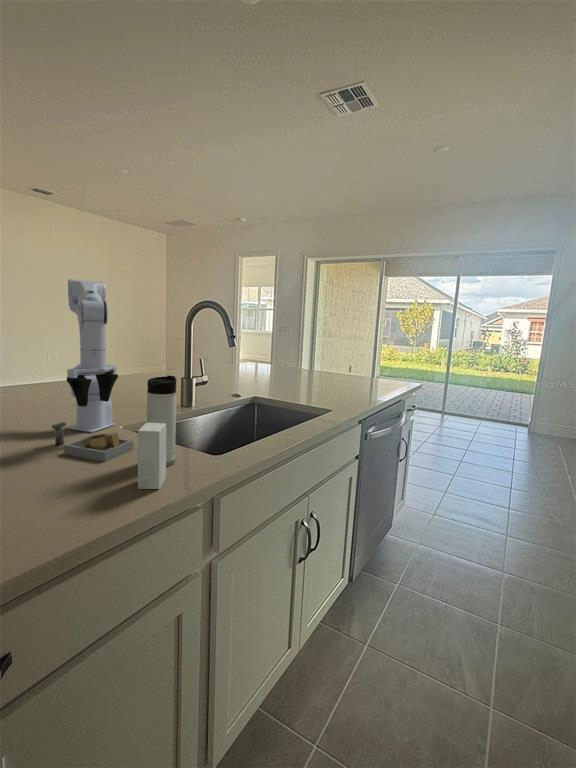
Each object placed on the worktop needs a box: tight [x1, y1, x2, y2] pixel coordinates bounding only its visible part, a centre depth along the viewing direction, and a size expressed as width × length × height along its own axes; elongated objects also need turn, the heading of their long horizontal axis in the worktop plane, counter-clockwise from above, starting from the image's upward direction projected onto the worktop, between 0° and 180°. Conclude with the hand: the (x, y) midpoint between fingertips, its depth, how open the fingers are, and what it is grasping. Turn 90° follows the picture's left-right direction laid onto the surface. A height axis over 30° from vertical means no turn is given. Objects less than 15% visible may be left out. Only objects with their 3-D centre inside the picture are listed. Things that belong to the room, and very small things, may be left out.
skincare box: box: [137, 422, 167, 490], centre depth 79 cm, size 6×4×12 cm
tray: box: [63, 433, 134, 463], centre depth 95 cm, size 10×11×2 cm
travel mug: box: [146, 375, 177, 467], centre depth 90 cm, size 6×7×20 cm
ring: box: [82, 432, 120, 450], centre depth 95 cm, size 6×9×3 cm
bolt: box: [51, 421, 67, 446], centre depth 98 cm, size 3×2×5 cm, turn 165°
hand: (93, 403), depth 100 cm, fingers open, 7 cm apart
